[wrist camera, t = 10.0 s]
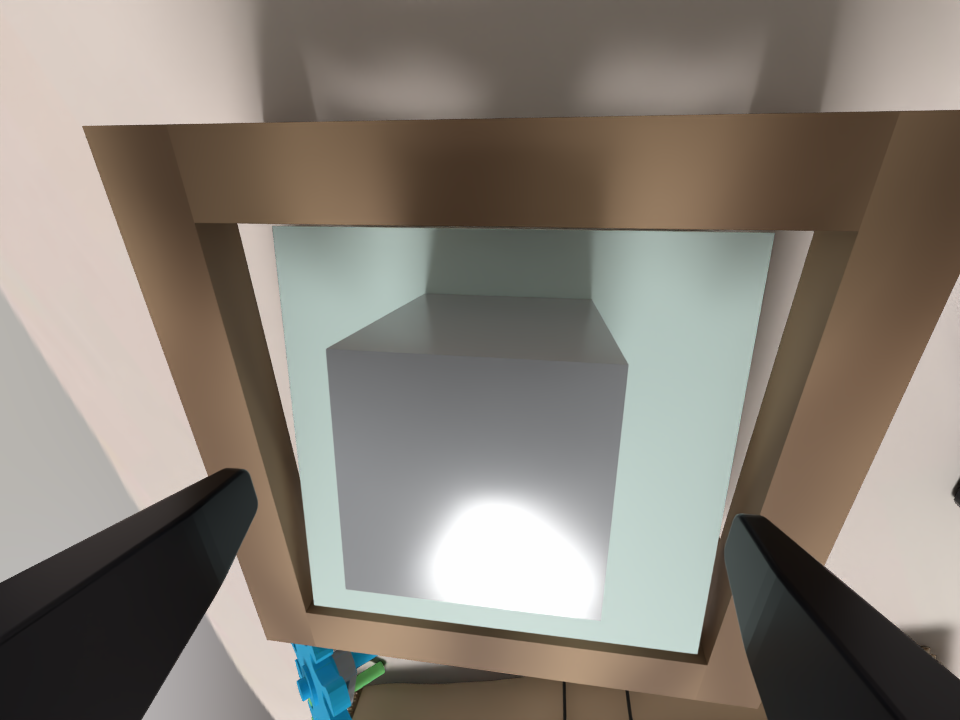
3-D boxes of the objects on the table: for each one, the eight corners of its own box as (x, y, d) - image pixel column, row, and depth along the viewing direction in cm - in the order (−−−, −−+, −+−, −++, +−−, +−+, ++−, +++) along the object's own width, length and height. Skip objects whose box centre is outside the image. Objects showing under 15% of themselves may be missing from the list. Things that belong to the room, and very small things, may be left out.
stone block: (591, 298, 12) (628, 364, 7) (578, 453, 14) (600, 620, 8) (424, 293, 13) (325, 348, 7) (427, 441, 14) (345, 589, 8)
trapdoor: (688, 628, 16) (697, 654, 15) (326, 584, 18) (314, 605, 17) (757, 232, 12) (775, 232, 11) (290, 225, 14) (272, 226, 13)
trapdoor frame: (820, 114, 14) (1037, 108, 8) (700, 543, 22) (757, 708, 16) (262, 124, 16) (81, 125, 10) (340, 507, 24) (267, 639, 18)
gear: (266, 561, 24) (339, 771, 19) (371, 516, 28) (461, 683, 22) (276, 647, 31) (332, 823, 25) (360, 603, 34) (426, 749, 29)
